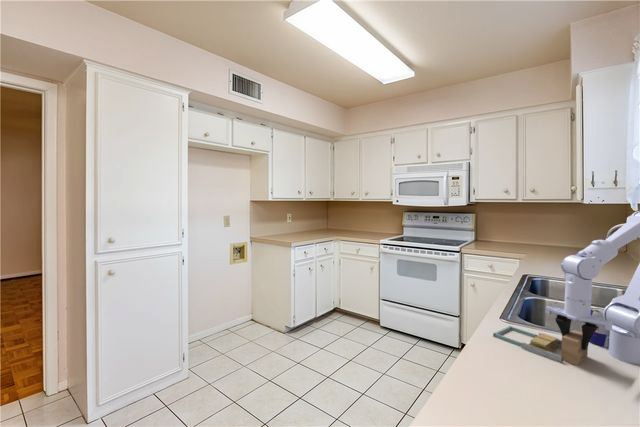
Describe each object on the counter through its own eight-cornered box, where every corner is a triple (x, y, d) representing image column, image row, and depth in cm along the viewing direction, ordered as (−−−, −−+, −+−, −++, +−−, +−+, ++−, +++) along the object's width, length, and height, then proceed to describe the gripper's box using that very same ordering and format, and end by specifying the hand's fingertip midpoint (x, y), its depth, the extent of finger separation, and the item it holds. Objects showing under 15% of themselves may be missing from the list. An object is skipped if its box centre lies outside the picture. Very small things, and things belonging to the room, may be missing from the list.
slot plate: (539, 342, 101) (540, 333, 101) (578, 355, 92) (578, 345, 92) (521, 352, 93) (521, 343, 93) (560, 368, 85) (561, 357, 85)
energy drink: (583, 343, 100) (585, 306, 100) (602, 344, 99) (604, 307, 99) (596, 351, 95) (598, 313, 94) (615, 352, 94) (617, 314, 94)
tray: (509, 332, 107) (509, 325, 107) (537, 342, 100) (537, 334, 100) (493, 340, 101) (493, 333, 101) (521, 351, 94) (521, 343, 94)
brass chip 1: (536, 344, 96) (536, 336, 95) (551, 350, 92) (551, 341, 92) (530, 348, 93) (530, 340, 93) (545, 353, 90) (545, 345, 90)
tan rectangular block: (572, 351, 91) (573, 330, 91) (587, 356, 88) (588, 334, 88) (561, 359, 87) (562, 336, 86) (576, 365, 84) (577, 341, 83)
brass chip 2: (542, 341, 98) (542, 333, 98) (557, 346, 95) (557, 338, 95) (536, 344, 96) (537, 336, 96) (552, 349, 93) (552, 341, 92)
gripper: (542, 294, 91) (539, 339, 91) (607, 309, 79) (604, 361, 79) (551, 290, 95) (549, 333, 95) (615, 304, 83) (612, 353, 83)
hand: (575, 345), depth 88 cm, fingers closed on tan rectangular block, 3 cm apart
